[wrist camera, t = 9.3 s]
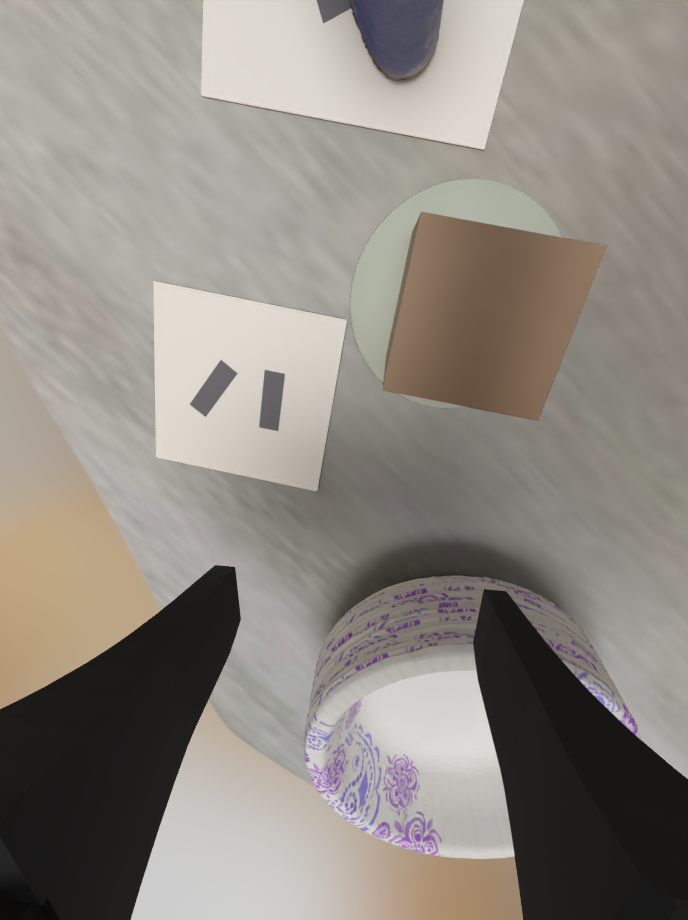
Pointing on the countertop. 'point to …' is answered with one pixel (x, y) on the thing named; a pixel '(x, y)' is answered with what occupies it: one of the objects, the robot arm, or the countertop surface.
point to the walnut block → (486, 314)
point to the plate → (390, 247)
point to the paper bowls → (425, 715)
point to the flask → (399, 33)
